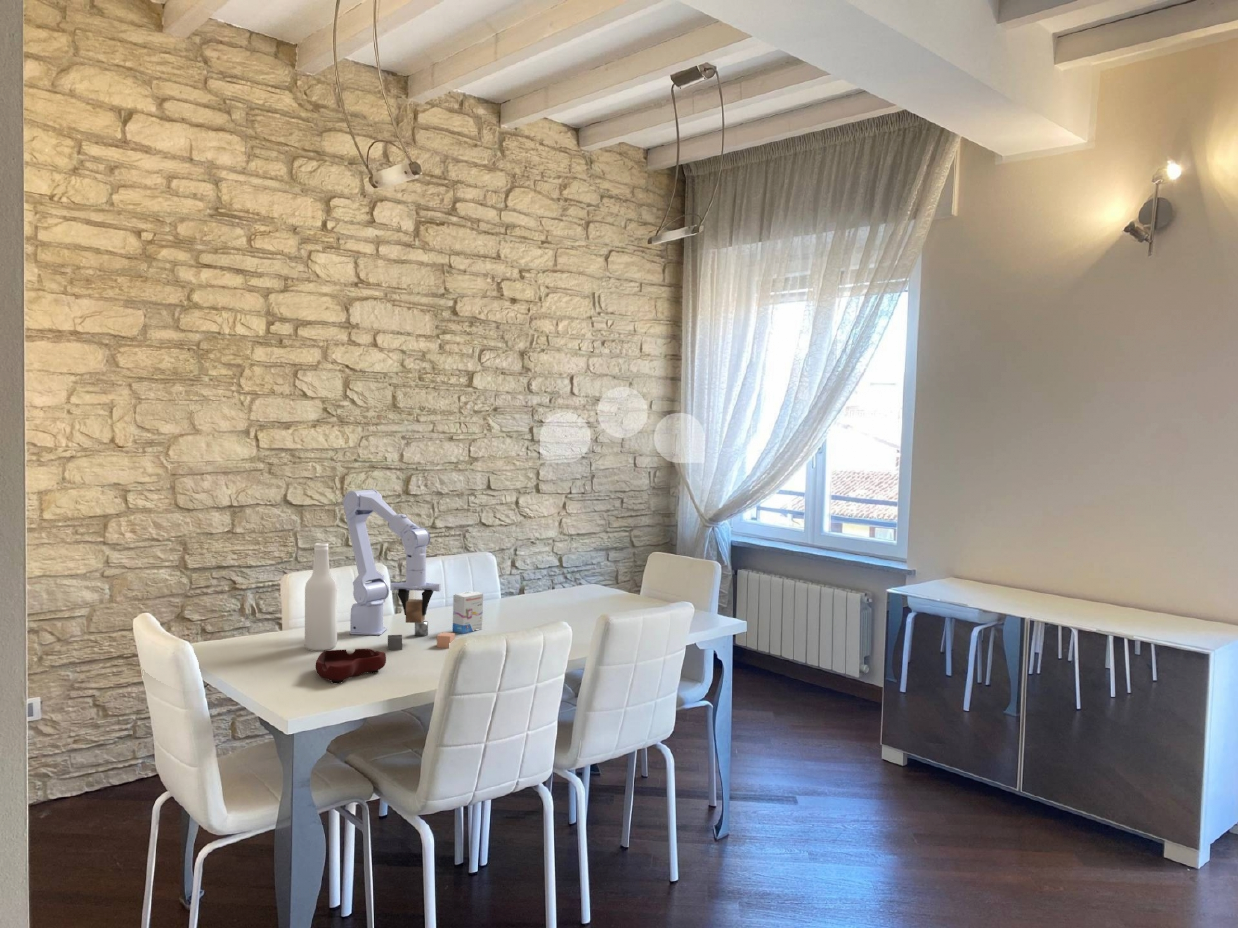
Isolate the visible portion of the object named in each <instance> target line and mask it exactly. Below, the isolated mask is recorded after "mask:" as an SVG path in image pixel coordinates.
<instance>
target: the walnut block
mask: <svg viewBox="0 0 1238 928" xmlns="http://www.w3.org/2000/svg"><path fill="white" fill-rule="evenodd" d="M422 607H423V602H422V598H421V599H420V598H419V599H418V598H417V599H415V598H412V599H411V598H409V600H408V601H407V602H406V615H405V623H407V624H408V623H411V624H415V623H422V622H423V621H426V620H425V619H426V615H425V616H422Z"/></svg>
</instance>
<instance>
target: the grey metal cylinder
mask: <svg viewBox="0 0 1238 928" xmlns="http://www.w3.org/2000/svg"><path fill="white" fill-rule="evenodd" d="M428 635H429V621H427V620H424V621H423V622H422V623H414V637H417V638H418V637H419V638H423V637H427V636H428Z"/></svg>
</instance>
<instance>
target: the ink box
mask: <svg viewBox="0 0 1238 928" xmlns="http://www.w3.org/2000/svg"><path fill="white" fill-rule="evenodd" d="M452 602H453V603H452V604H453V605H452V607H453V608H452V633H459V634H468V632H469V633H472V632H471V631H473V630H476V629H481V630H483V618H484V617H483V613H484V612H483V611H484V610H483V609H484V593H482V592H478V591H476V590H475V591H474V590H471V591H464V592H458V593H454V595H453V601H452ZM473 632H474V631H473Z"/></svg>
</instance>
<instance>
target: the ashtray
mask: <svg viewBox="0 0 1238 928" xmlns="http://www.w3.org/2000/svg"><path fill="white" fill-rule="evenodd" d="M386 663H387V655H386V652H384V651H379V650H373V649H371V648H355V649H354V651H353V652H350V653H349V652H348V651H347V649H330V650H325V651H321V652H320V654H319V655H318V657H317V658H316V660H315V672H316V674H317V676H319V677H320V678H322V679H323V680H327V681H330V683H331V682H332V683H331V684H334V683H337V684H342V683H344V681H346V680H348V679H350V678H356V677H359V676H361V675H364V674H366V673H367V672H368V673H367V674H376V673H375V672H377V673H378V672H379V670H382V669H383V668H384V667H385V665H386ZM341 682H342V683H341Z"/></svg>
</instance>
